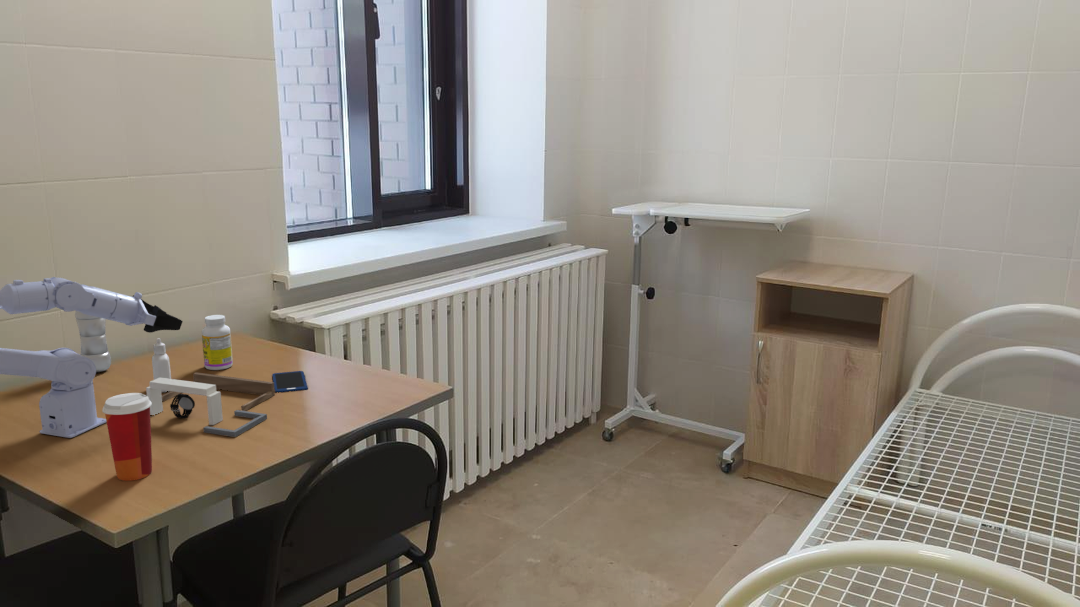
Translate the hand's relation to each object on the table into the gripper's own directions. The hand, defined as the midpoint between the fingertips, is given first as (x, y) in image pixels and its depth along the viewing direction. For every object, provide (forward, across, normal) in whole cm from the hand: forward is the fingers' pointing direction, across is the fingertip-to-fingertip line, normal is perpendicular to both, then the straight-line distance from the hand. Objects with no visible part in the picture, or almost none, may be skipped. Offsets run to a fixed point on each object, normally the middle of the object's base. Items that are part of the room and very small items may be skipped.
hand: (172, 320), depth 177 cm
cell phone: (+29, -7, +7) cm, 31 cm away
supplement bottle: (+24, +15, +10) cm, 30 cm away
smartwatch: (+3, -12, +18) cm, 22 cm away
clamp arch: (+4, -12, +17) cm, 22 cm away
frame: (+8, -23, +15) cm, 29 cm away
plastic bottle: (+4, +32, +21) cm, 38 cm away
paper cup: (-14, -32, +24) cm, 42 cm away
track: (+9, -8, +15) cm, 20 cm away
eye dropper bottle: (+8, +8, +17) cm, 21 cm away
